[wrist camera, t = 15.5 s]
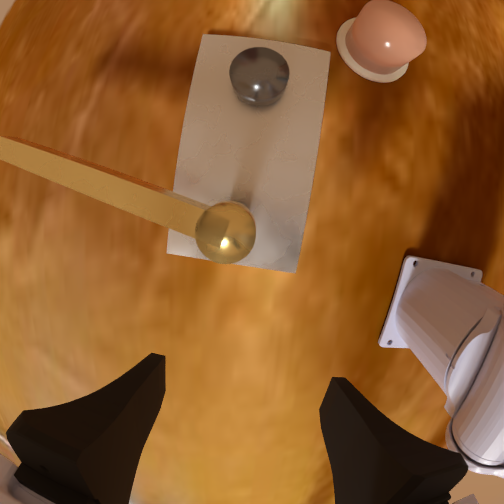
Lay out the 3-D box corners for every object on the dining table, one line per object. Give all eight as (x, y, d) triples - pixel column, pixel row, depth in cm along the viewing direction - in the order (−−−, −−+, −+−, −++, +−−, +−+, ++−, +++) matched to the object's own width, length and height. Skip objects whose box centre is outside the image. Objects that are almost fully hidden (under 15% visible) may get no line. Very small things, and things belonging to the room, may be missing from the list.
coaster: (406, 34, 16) (408, 32, 16) (405, 93, 18) (407, 91, 17) (338, 10, 16) (339, 8, 16) (333, 69, 17) (334, 68, 17)
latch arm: (264, 212, 13) (265, 217, 11) (244, 262, 13) (242, 272, 12) (20, 127, 12) (2, 125, 10) (9, 166, 12) (-8, 167, 11)
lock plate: (327, 57, 17) (355, 11, 10) (293, 269, 21) (310, 310, 14) (205, 39, 17) (184, -11, 10) (170, 249, 21) (133, 281, 14)
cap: (403, 36, 16) (425, 17, 12) (400, 83, 17) (426, 68, 13) (347, 15, 16) (363, -10, 12) (341, 62, 17) (359, 40, 13)
